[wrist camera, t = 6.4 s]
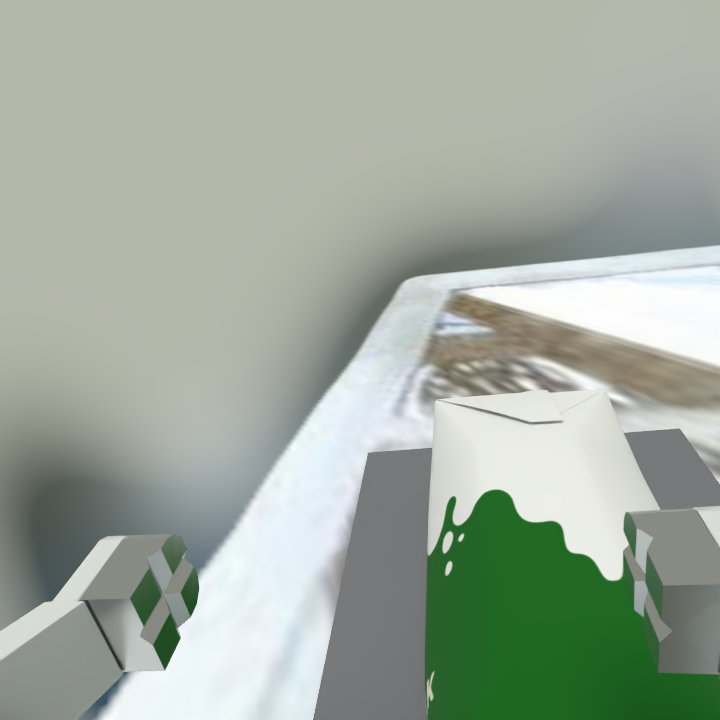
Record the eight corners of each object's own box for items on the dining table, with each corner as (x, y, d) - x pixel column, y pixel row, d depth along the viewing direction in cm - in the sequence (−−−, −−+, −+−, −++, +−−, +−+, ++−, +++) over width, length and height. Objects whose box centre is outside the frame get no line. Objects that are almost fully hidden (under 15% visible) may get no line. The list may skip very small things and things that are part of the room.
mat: (678, 442, 35) (679, 428, 34) (1061, 998, 13) (1075, 979, 13) (370, 464, 39) (368, 452, 38) (282, 921, 17) (275, 905, 17)
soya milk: (437, 1023, 14) (438, 502, 32) (840, 1079, 12) (603, 498, 30) (395, 838, 10) (423, 368, 28) (958, 884, 9) (610, 354, 27)
